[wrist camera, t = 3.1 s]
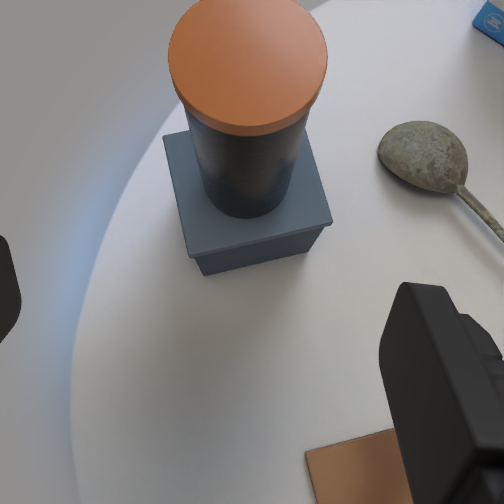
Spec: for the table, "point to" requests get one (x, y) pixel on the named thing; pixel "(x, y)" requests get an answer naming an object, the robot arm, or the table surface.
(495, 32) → the ink box
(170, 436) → the table surface
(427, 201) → the table surface
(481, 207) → the soupspoon
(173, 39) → the tin
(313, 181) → the lidded box
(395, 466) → the coaster
